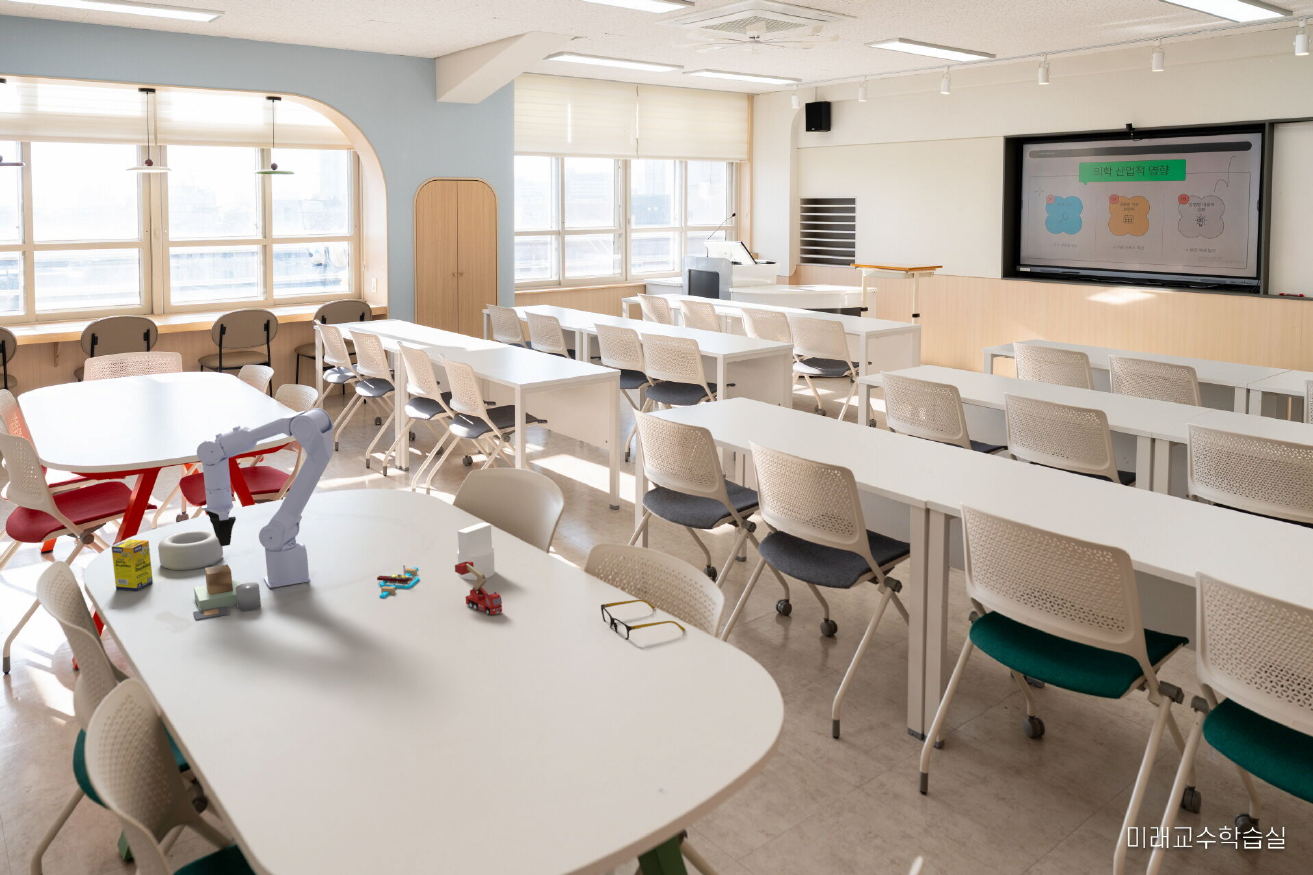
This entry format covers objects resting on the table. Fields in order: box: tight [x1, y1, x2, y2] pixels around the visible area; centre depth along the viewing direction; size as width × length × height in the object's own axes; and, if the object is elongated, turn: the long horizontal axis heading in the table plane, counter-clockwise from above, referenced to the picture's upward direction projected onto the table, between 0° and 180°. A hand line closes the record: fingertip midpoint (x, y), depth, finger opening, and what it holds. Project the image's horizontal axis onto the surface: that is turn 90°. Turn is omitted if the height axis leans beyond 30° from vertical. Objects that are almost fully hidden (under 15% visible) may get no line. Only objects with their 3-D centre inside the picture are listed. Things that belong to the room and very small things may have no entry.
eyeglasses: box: [600, 599, 686, 640], centre depth 226 cm, size 14×14×4 cm
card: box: [192, 606, 230, 621], centre depth 233 cm, size 7×5×1 cm
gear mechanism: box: [376, 563, 420, 599], centre depth 252 cm, size 20×5×9 cm
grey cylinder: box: [236, 582, 262, 612], centre depth 237 cm, size 5×5×5 cm
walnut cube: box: [204, 563, 233, 595], centre depth 241 cm, size 5×5×5 cm
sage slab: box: [193, 579, 242, 611], centre depth 241 cm, size 10×10×3 cm
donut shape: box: [157, 529, 224, 571], centre depth 267 cm, size 15×15×7 cm
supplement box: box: [111, 538, 154, 592], centre depth 249 cm, size 6×6×11 cm
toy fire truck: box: [454, 562, 503, 616], centre depth 236 cm, size 3×14×10 cm, turn 47°
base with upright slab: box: [456, 521, 496, 581], centre depth 257 cm, size 9×9×12 cm
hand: (223, 541), depth 253 cm, fingers open, 7 cm apart
